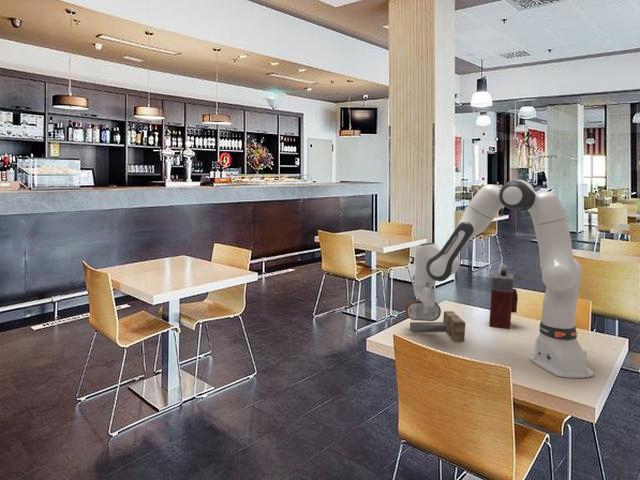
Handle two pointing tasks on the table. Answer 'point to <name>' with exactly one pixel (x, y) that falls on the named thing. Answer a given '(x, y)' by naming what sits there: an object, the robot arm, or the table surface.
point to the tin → (416, 313)
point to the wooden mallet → (443, 326)
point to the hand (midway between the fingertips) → (423, 311)
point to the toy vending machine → (502, 299)
